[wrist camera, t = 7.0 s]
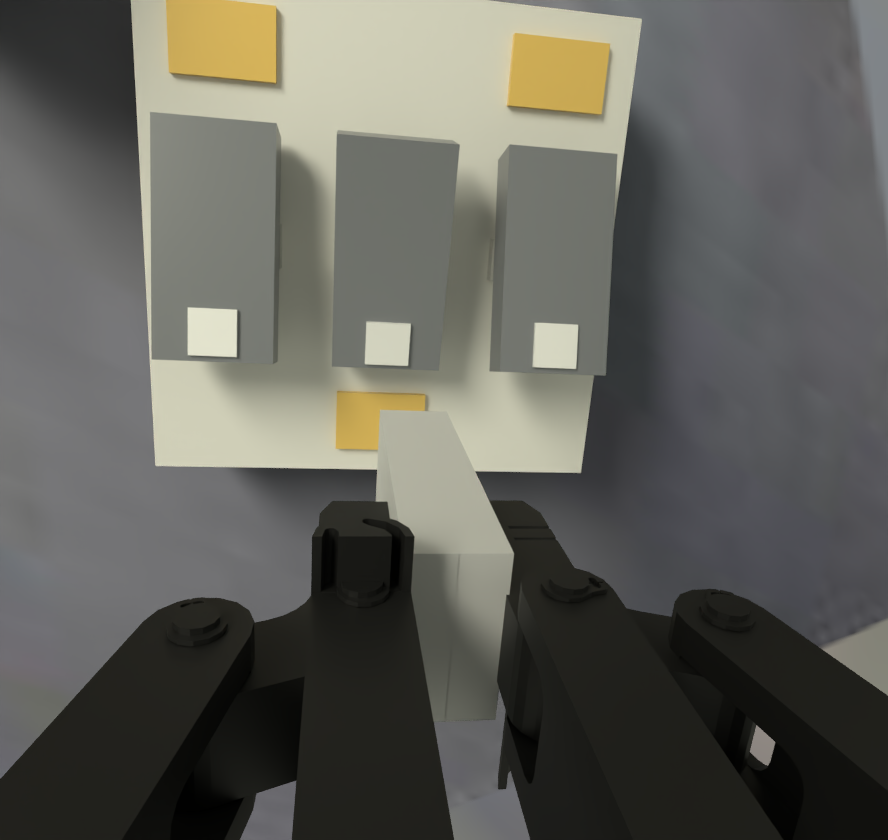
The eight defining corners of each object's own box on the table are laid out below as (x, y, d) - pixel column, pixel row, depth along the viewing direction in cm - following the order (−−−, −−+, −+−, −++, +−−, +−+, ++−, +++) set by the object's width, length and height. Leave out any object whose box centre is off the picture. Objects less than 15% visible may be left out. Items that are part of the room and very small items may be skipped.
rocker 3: (498, 159, 26) (510, 142, 24) (599, 168, 27) (619, 152, 25) (489, 371, 27) (500, 371, 25) (588, 375, 27) (607, 375, 25)
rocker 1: (163, 127, 24) (148, 110, 22) (281, 137, 25) (276, 121, 23) (165, 357, 25) (150, 359, 23) (277, 361, 26) (272, 364, 24)
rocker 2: (337, 130, 24) (336, 134, 22) (452, 140, 24) (460, 144, 23) (333, 349, 27) (331, 368, 25) (433, 353, 28) (439, 372, 26)
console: (171, 6, 29) (122, -51, 22) (588, 52, 31) (649, 14, 25) (187, 422, 34) (150, 472, 27) (544, 431, 36) (586, 478, 30)
